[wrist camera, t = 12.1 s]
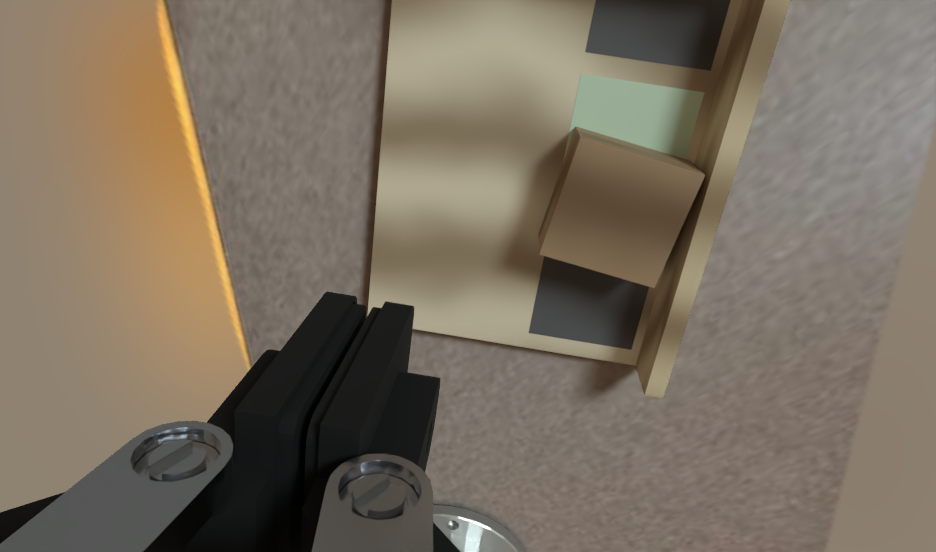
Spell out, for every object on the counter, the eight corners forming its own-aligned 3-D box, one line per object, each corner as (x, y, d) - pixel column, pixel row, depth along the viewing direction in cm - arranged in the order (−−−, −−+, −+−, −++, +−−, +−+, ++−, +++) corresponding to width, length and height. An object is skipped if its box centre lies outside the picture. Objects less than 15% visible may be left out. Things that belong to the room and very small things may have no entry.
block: (644, 265, 33) (654, 288, 30) (538, 234, 33) (539, 254, 30) (689, 160, 31) (705, 174, 28) (575, 126, 31) (580, 137, 28)
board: (649, 359, 37) (663, 398, 33) (371, 313, 37) (353, 346, 33) (773, -53, 28) (810, -63, 24) (404, -106, 28) (386, -124, 24)
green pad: (662, 235, 33) (663, 237, 32) (551, 217, 33) (551, 219, 33) (702, 91, 30) (704, 92, 29) (580, 73, 30) (581, 73, 30)
